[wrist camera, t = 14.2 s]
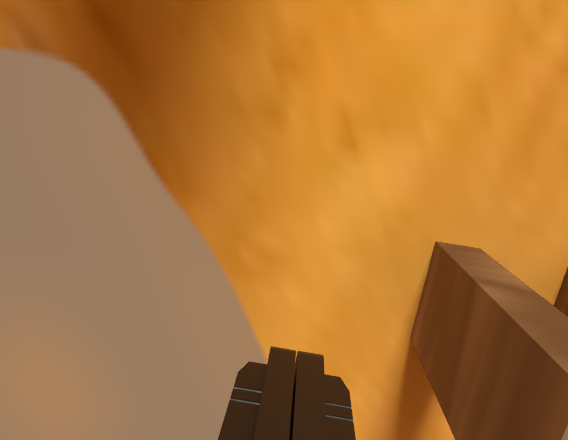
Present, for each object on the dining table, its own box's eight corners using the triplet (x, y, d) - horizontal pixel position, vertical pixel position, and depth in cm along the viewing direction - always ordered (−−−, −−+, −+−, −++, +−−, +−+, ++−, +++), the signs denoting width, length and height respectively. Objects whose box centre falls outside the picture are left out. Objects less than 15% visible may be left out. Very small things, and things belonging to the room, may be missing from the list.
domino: (410, 338, 19) (510, 564, 9) (435, 241, 18) (582, 388, 8) (451, 345, 19) (595, 579, 9) (479, 248, 18) (681, 405, 8)
